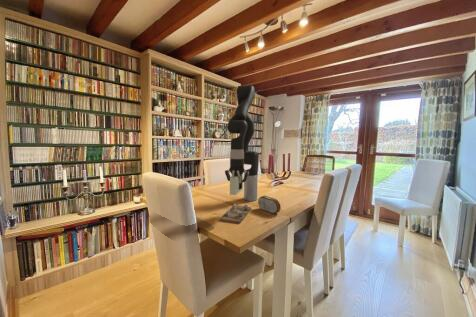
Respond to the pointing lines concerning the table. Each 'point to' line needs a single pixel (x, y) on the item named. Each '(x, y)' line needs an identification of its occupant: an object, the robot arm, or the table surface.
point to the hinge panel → (236, 214)
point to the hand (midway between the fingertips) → (236, 188)
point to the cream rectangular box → (235, 185)
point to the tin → (269, 204)
